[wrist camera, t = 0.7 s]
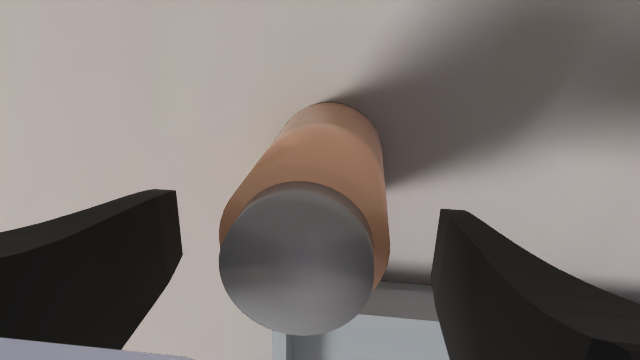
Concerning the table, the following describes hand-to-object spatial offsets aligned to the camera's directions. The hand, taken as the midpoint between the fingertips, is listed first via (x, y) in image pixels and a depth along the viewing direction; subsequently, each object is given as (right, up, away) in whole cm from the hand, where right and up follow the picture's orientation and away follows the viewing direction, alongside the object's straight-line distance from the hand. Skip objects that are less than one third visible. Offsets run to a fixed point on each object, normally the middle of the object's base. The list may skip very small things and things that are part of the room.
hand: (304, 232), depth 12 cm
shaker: (+1, +3, +6) cm, 7 cm away
